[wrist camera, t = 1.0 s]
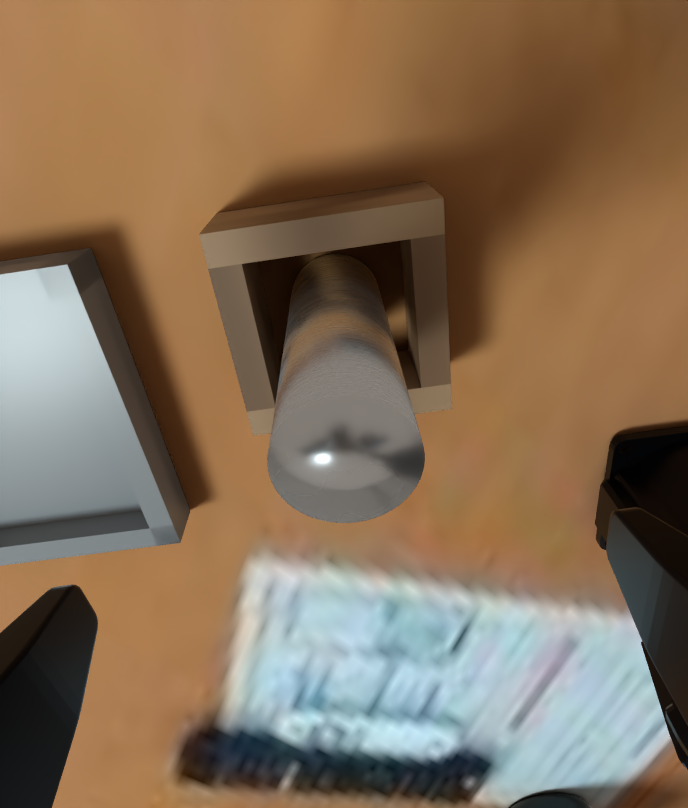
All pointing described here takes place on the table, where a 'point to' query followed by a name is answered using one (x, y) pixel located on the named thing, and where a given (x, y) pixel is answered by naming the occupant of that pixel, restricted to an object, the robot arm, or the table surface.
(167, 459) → the tray
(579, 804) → the supplement bottle
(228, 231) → the socket
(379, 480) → the pin
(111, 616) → the table surface
